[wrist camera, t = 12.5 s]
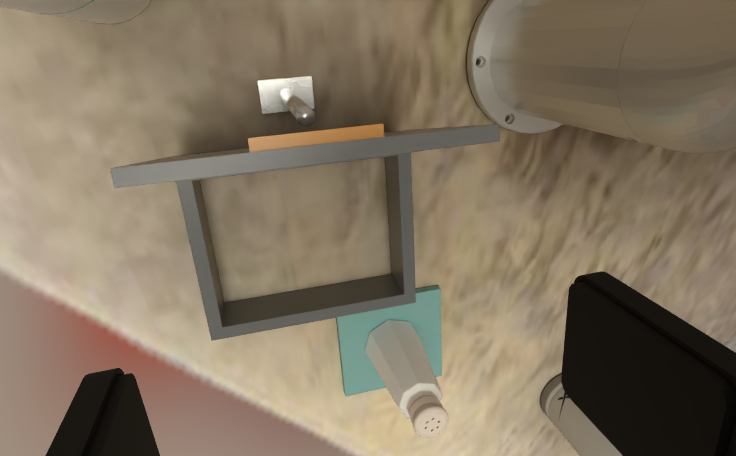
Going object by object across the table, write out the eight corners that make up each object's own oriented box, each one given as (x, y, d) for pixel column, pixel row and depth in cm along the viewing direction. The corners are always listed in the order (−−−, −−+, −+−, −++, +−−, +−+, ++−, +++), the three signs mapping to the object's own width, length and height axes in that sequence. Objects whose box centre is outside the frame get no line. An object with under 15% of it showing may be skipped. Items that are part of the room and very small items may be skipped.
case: (395, 132, 40) (410, 140, 36) (402, 281, 45) (415, 302, 41) (180, 156, 37) (173, 168, 33) (214, 314, 42) (211, 340, 38)
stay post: (310, 75, 37) (341, 89, 25) (313, 107, 38) (345, 135, 26) (257, 80, 36) (263, 96, 24) (262, 112, 37) (270, 144, 25)
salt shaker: (352, 353, 45) (383, 439, 35) (386, 308, 45) (427, 384, 35) (396, 374, 48) (437, 462, 38) (429, 332, 47) (479, 410, 37)
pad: (437, 285, 46) (440, 288, 45) (438, 370, 50) (441, 375, 49) (334, 303, 44) (336, 307, 43) (344, 391, 48) (345, 396, 47)
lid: (410, 140, 36) (408, 121, 36) (499, 141, 23) (498, 111, 22) (173, 168, 33) (169, 147, 33) (114, 188, 19) (106, 153, 19)
